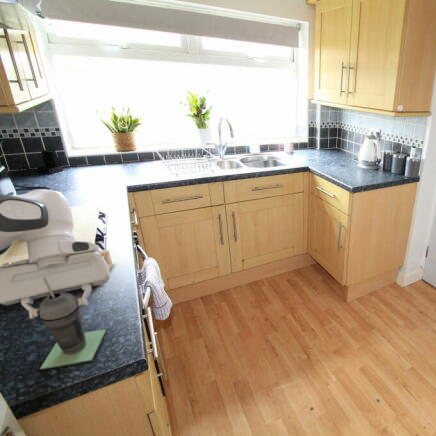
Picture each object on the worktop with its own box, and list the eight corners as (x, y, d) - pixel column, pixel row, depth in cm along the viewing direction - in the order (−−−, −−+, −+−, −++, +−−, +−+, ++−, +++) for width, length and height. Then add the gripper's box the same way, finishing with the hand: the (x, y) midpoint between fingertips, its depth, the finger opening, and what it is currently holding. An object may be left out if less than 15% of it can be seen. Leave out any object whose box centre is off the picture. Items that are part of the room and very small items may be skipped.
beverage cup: (70, 363, 73) (40, 292, 64) (48, 354, 75) (16, 284, 66) (100, 340, 79) (77, 273, 71) (79, 332, 81) (54, 266, 73)
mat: (40, 369, 71) (39, 368, 71) (60, 337, 80) (60, 336, 80) (91, 360, 74) (91, 359, 74) (106, 330, 83) (105, 329, 82)
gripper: (-14, 261, 68) (-10, 326, 64) (101, 241, 77) (110, 296, 74) (1, 269, 73) (5, 329, 69) (107, 249, 83) (115, 300, 79)
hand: (60, 311), depth 72 cm, fingers closed on beverage cup, 7 cm apart
